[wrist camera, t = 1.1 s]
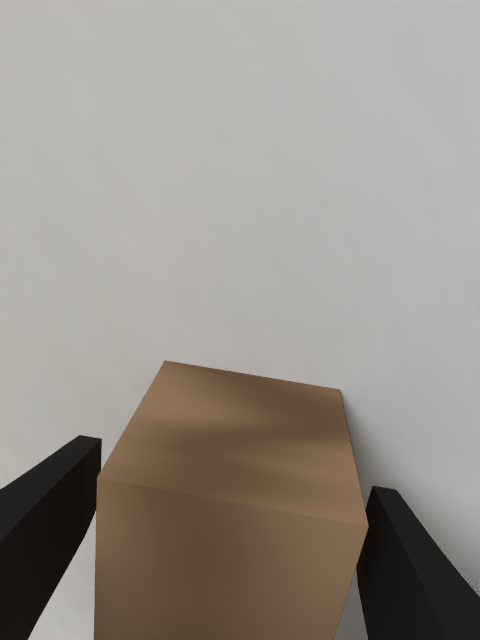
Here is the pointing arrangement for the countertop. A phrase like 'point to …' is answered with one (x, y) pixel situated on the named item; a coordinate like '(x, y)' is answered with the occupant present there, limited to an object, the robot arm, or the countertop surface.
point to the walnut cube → (228, 512)
